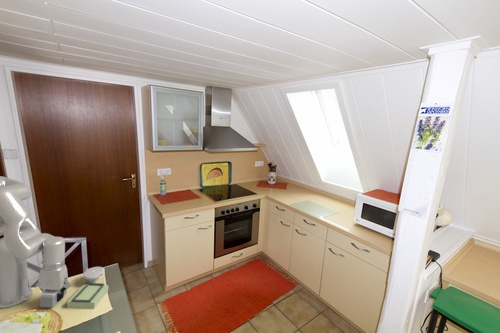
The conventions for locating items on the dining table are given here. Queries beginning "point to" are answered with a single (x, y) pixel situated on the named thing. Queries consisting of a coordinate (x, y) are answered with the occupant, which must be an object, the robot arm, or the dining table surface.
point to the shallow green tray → (88, 296)
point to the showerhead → (93, 274)
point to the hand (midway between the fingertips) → (53, 298)
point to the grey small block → (49, 298)
